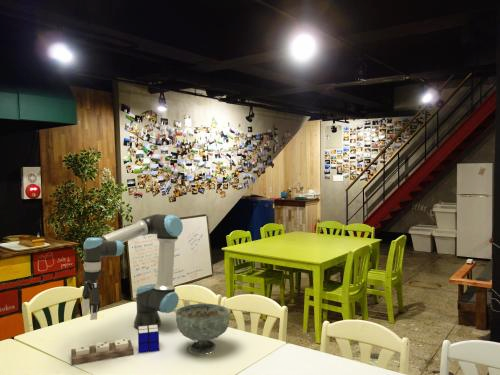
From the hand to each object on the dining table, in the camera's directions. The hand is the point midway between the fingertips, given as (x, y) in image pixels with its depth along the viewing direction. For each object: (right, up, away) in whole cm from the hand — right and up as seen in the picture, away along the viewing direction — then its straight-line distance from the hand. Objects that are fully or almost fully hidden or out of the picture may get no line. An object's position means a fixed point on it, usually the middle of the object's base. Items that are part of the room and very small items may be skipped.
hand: (89, 316), depth 201 cm
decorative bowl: (+52, -21, +13) cm, 58 cm away
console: (+4, -21, +7) cm, 23 cm away
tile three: (+4, -19, +7) cm, 20 cm away
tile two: (+12, -19, +10) cm, 24 cm away
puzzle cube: (+24, -21, +15) cm, 35 cm away
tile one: (-5, -19, +3) cm, 20 cm away
